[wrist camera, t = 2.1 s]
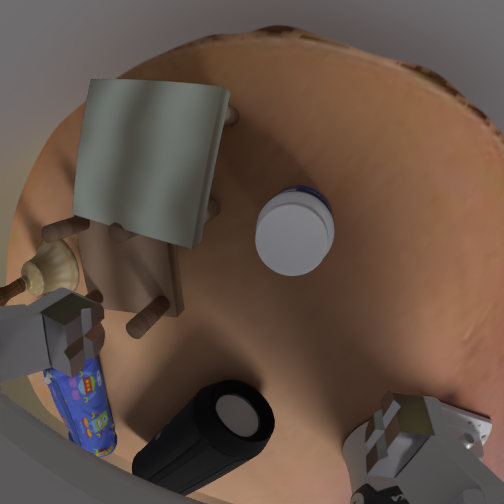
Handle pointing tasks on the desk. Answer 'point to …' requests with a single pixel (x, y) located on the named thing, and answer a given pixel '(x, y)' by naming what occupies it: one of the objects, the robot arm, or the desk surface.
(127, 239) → the upturned stool
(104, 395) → the pencil case
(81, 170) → the small table
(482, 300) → the desk surface
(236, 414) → the portable speaker
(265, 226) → the pill bottle
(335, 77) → the desk surface
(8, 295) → the hand bell
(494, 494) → the robot arm
